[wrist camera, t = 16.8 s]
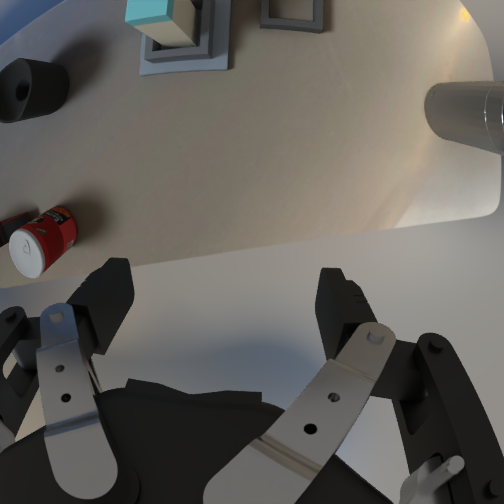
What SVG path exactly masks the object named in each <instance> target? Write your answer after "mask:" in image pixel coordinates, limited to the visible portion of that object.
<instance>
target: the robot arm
mask: <svg viewBox="0 0 504 504" xmlns="http://www.w3.org/2000/svg"><path fill="white" fill-rule="evenodd" d="M425 114H426V118H427V121H428V123H429V125H430V127H431V129H432V130H433V131H434V132H435V133H436V134H437V135H438V136H439V137H441V138H443V139H446V140H450V141H454V142H458V143H461V144H465V145H469V146H473V147H476V148H480V149H483V150H487V151H490V152H493V153H496V154H499V155H503V156H504V82H503V81H502V82H496V81H477V82H449V83H439V84H436V85H434V86H433V87H432V88H431V89H430V90H429V91H428V93H427V96H426V99H425ZM133 301H134V286H133V281H132V275H131V269H130V264H129V261H128V259H127V258H112V257H111V258H109V259H108V261H107V262H106V263H105V264H104V265H103V266H102V267H101V268H99V269H97V270H95V271H94V272H92V273H91V274H90V275H89V276H88V277H87V278H86V279H85V282H83V283H82V284H81V285H80V287H79V288H78V289H77V290H76V291H75V292H74V293H73V294H72V296H71V297H70V298H69V299H68V301H67V302H66V303H56V304H53V305H51V306H49V307H47V308H46V309H45V310H44V311H43V312H42V313H41V316H40V317H31V318H27V316H26V313H25V311H24V309H23V308H22V307H19V306H15V307H10V308H8V309H6V310H4V311H3V312H2V313H1V314H0V504H393V502H392V501H390V500H389V499H388V498H387V497H386V496H385V495H383V494H382V493H381V492H380V491H378V490H377V489H376V488H375V487H373V486H372V485H371V484H370V483H368V482H367V481H366V480H365V479H364V478H362V477H361V476H360V475H359V474H358V473H356V472H355V471H354V470H353V469H352V468H350V467H349V466H348V465H347V464H346V463H345V462H344V461H343V460H341V459H340V458H339V457H338V456H337V455H336V454H335V453H336V452H337V450H338V449H339V447H340V446H341V444H342V442H343V441H344V439H345V438H346V436H347V434H348V433H349V431H350V430H351V428H352V426H353V425H354V423H355V422H356V420H357V418H358V416H359V415H360V413H361V411H362V409H363V408H364V406H365V404H366V403H367V401H368V399H369V397H370V396H375V397H381V398H388V399H392V403H393V407H394V411H395V414H396V418H397V422H398V426H399V429H400V434H401V438H402V442H403V446H404V450H405V455H406V459H407V464H408V468H409V473H410V476H408V477H407V478H406V479H405V481H404V482H403V484H402V486H401V490H400V502H399V504H504V457H503V454H502V451H501V449H500V446H499V443H498V441H497V438H496V436H495V433H494V431H493V428H492V426H491V424H490V421H489V419H488V416H487V414H486V412H485V410H484V407H483V406H482V403H481V401H480V399H479V397H478V395H477V393H476V390H475V389H474V386H473V384H472V382H471V381H470V378H469V376H468V375H467V373H466V371H465V369H464V367H463V365H462V363H461V361H460V359H459V357H458V356H457V354H456V352H455V350H454V348H453V347H452V345H451V344H450V342H449V341H448V340H447V339H446V338H444V337H443V336H441V335H439V334H436V333H425V334H422V335H421V336H420V337H419V339H418V341H417V343H411V342H406V341H401V340H397V339H396V336H395V334H394V332H393V331H392V330H391V329H390V328H389V327H387V326H385V325H383V324H381V323H378V322H377V320H376V318H375V315H374V313H373V312H372V309H371V308H370V305H369V304H368V303H367V302H368V301H367V300H366V298H365V297H364V294H363V292H362V290H361V288H360V287H359V286H358V285H357V284H356V283H355V282H353V281H352V280H346V279H345V276H344V274H343V272H342V270H341V269H340V268H322V269H321V273H320V278H319V284H318V289H317V295H316V302H315V314H316V318H317V322H318V326H319V330H320V334H321V339H322V343H323V347H324V351H325V355H326V360H327V362H326V363H325V364H324V366H323V367H322V368H321V369H320V371H319V372H318V373H317V374H316V376H315V377H314V378H313V379H312V380H311V382H310V383H309V384H308V385H307V386H306V388H305V389H304V390H303V391H302V392H301V394H300V395H299V396H298V397H297V398H296V400H295V401H294V402H293V403H292V404H291V405H290V406H289V407H288V409H287V410H286V411H285V410H284V409H282V408H279V407H277V406H275V405H272V404H269V403H265V402H262V392H247V391H219V392H211V393H202V394H187V393H184V392H181V391H178V390H176V389H173V388H170V387H167V386H164V385H162V384H159V383H153V382H146V381H140V380H134V379H128V381H127V383H126V386H125V388H116V389H111V390H107V391H104V392H103V390H102V387H101V384H100V382H99V379H98V376H97V373H96V370H95V367H94V364H93V361H92V359H91V356H92V355H93V353H96V354H101V355H105V353H106V351H107V349H108V347H109V345H110V343H111V341H112V339H113V338H114V336H115V334H116V332H117V330H118V329H119V327H120V325H121V323H122V322H123V320H124V318H125V316H126V314H127V313H128V311H129V309H130V307H131V306H132V304H133ZM11 352H12V353H13V355H14V357H15V359H16V360H17V363H16V364H15V366H14V368H13V369H12V371H11V373H10V374H9V376H8V378H7V379H6V378H5V377H4V375H3V364H4V362H5V361H6V359H7V358H8V356H9V355H10V353H11ZM39 386H40V394H41V400H42V406H43V412H44V417H45V423H46V425H45V426H43V427H42V428H40V429H38V430H36V431H35V432H33V433H31V434H29V435H28V436H26V437H24V438H22V439H21V440H19V441H17V442H15V437H16V435H17V433H18V430H19V428H20V426H21V424H22V421H23V419H24V417H25V414H26V413H27V411H28V409H29V406H30V404H31V402H32V400H33V398H34V396H35V394H36V392H37V390H38V388H39Z"/></svg>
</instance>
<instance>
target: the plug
mask: <svg viewBox="0 0 504 504" xmlns="http://www.w3.org/2000/svg"><path fill="white" fill-rule="evenodd" d="M125 22H126V23H128V24H130V25H131V26H133V27H135V28H136V29H138V30H140V31H141V32H143V33H144V34H146V35H148V36H149V37H151V38H152V39H154V40H155V41H157V42H158V43H160V44H161V45H163V46H164V47H166V48H167V49H169V48H180V47H195V46H197V37H198V25H199V13H198V12H197V10H196V9H195V7H194V6H193V4H192V2H191V1H190V0H128V2H127V9H126V17H125Z"/></svg>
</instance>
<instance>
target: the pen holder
mask: <svg viewBox="0 0 504 504" xmlns="http://www.w3.org/2000/svg"><path fill="white" fill-rule="evenodd" d="M68 86H69V80H68V75H67V72H66V71H65V69H64V68H63V67H62V66H60V65H57V64H53V63H48V62H43V61H37V60H30V59H24V58H18V59H16V60H15V61H13V62H12V63H10V64H9V65H7V66H6V67H5V68H4V69H3V70H2V71H1V72H0V122H2V123H13V122H17V121H21V120H26V119H30V118H35V117H40V116H44V115H49V114H51V113H53V112H55V111H56V110H57V109H58V108H59V107H60V106H61V105H62V103H63V101H64V100H65V98H66V95H67V92H68Z"/></svg>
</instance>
